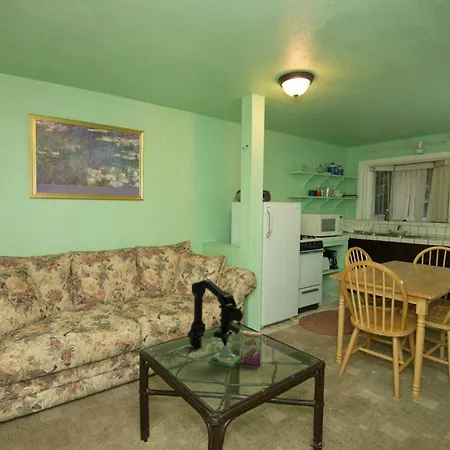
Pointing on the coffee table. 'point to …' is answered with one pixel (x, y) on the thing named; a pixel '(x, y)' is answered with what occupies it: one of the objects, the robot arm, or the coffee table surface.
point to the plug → (226, 352)
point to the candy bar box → (251, 347)
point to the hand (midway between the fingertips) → (225, 345)
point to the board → (224, 360)
